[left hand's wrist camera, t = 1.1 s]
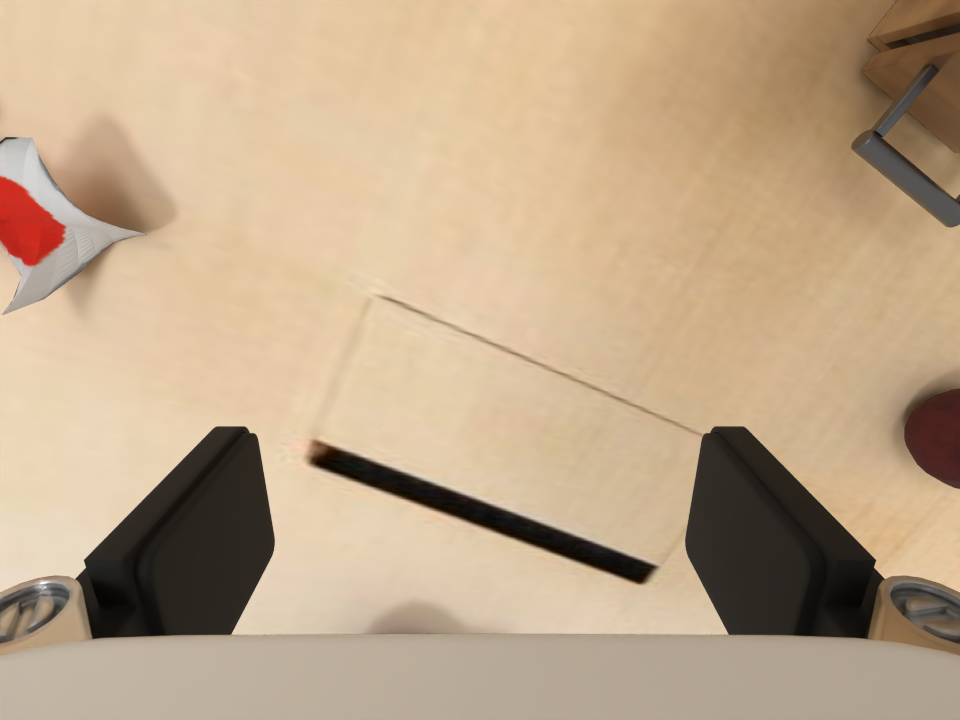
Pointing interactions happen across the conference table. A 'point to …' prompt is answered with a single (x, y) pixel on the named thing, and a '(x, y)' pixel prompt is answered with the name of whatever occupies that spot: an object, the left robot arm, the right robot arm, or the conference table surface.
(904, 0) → the cabinet
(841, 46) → the conference table surface
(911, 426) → the potato
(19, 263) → the fish
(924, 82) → the drawer
